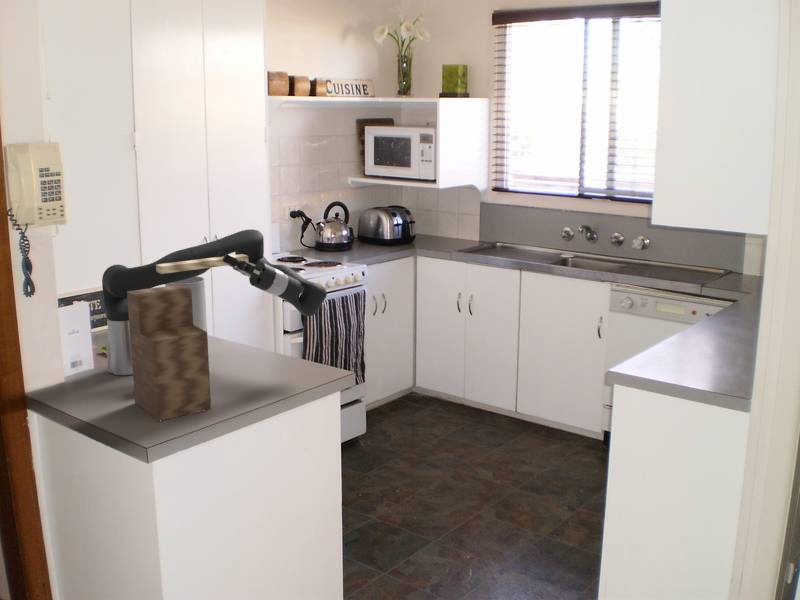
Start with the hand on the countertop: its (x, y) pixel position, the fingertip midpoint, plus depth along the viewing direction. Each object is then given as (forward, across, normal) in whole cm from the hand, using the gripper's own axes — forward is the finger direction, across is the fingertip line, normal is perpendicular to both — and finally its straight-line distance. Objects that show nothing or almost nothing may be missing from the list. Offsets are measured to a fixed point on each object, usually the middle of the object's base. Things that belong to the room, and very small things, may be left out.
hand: (221, 256), depth 241 cm
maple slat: (+4, 0, +5) cm, 6 cm away
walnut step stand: (-3, +5, +43) cm, 44 cm away
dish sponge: (-11, -55, +40) cm, 69 cm away
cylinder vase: (-24, -39, +32) cm, 56 cm away
